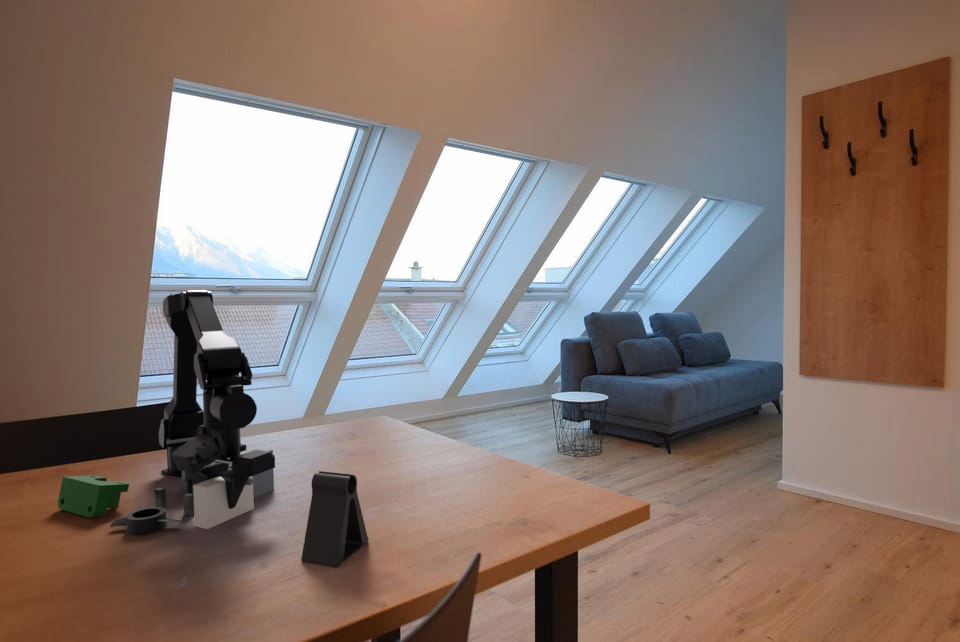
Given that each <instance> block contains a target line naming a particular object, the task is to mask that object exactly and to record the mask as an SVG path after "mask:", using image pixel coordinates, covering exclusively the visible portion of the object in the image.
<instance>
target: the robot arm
mask: <svg viewBox="0 0 960 642" xmlns="http://www.w3.org/2000/svg"><path fill="white" fill-rule="evenodd" d="M162 313H163V317H164V318H165V321H166V323H167V325H168V326H169V327H170V329H171V331H172V332H173V333H174V337H173V338H174V339H173V341H174V342H173V380H172V381H173V382H172V383H173V385H172V386H173V387H172V389H173V390H172V398H171V400H170V401H169V402H168V403H167V405H166V406H165V408H164V409H163V411H164V412H163V418H162V419H161V420H160V425H159V430H158V442H159V445H160V446H161V447H162V448H163V449H166V458H167V459H166V463H167V468H165V469H161V471H160V473H161V474H165V475H172V476H176V477H177V476H178V477H182V471H188V472H190V473H197V474H199V475H200V476H202V477H203V479H204V481H207V480H209V479H212V478H215V477H218V476H221V477H222V478H223V479H224V480H225V481H226V491H227V501H228V506H229V509H232V508H234V507H235V506H236V504H237V502H238V500H239V497H240V495H241V493H242V491H243V488H244V486H245V484H246V482H247V480H248V479H249V477H250V476H254V475H257V474H259V473H262V472H265V471H267V470H270V469H273V470H274V469H275V468H276V456H275V455H274V453H273V454H272V453H271V452H268V451H261V450H254V451H251V452H248V453H245V454H242V455H241V454H240V452H242V451H245V450H246V446H247V444H244V443H241V429H244V428H246V427H247V426H248V425H250V424H251V423H252V422H253V421H254V419H255V417H256V415H257V411H258V408H257V404H256V400H254V398H253V397H252V396H251V395H249V394H247V393H245V392H244V391H245V390H244V386H252V379H253V372H252V369H251V367H250V363H249V361H248V357H247V356H246V354H245V352H244V350H242V349H241V347H240V345H239V344H238V342H237V340H236V339H235V338H233V337H231V336H229V335H228V334H226V333H225V332H224V329H223V327H222V326H223V325H222V324H221V322H220V318H219V316H218V314H217V311H216V309H215V307H214V297H213V294H212V291H210V290H207V289H186V290H184V291H180V293H170V294H169V295H167V296H166V297H165V298H164V299H163V301H162ZM198 384H199V388H200V390H203V391H202V405H203V406H202V407H203V409H202V407H201V405H200V404H199V402H198V401H197V393H198V392H197V391H198V387H197V386H198ZM228 458H230V459H228ZM228 464H229V467H228ZM227 468H228V471H227Z"/></svg>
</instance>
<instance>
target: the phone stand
mask: <svg viewBox="0 0 960 642" xmlns="http://www.w3.org/2000/svg"><path fill="white" fill-rule="evenodd" d="M362 511H363V510H362V508H361V503H360V499H359V496H358V480H357V477H356V475H355V474H349V473H340V472H339V473H338V472H330V471H323V470H319V471H318V472H315V473H314V474H313V475H312V479H311V499H310V505H309V510H308V518H307V523H306V530H305V534H304V540H303V548H302V553H301V560H300V561H301V562H302V563H303V562H304V563H308V564H315V565H321V566H328V567H333V568H339V567H340V566H341V565H343V564H344V563H345V562H347V561H348V560H349V559H350V558H351V557H353V555H355V554H356V553H357V552H359V551H360V550H361V549H362V548H363V547H364V546H366V545H368V543H369V537H368V533H367V528H366V524H365V521H364V516H363V512H362Z"/></svg>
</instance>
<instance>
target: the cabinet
mask: <svg viewBox="0 0 960 642" xmlns="http://www.w3.org/2000/svg"><path fill="white" fill-rule="evenodd" d="M254 450H261V451H268V452H271V453H272V454H273V455H274V450H273V449H269V448H265V447H264V448H263V447H256V446H251V445H250V446H249V445H246V450H245V451H242V452H240V454H241V455H242V454H245V453H248V452H251V451H254ZM228 459H230V458H228ZM228 467H229V464H228ZM227 471H228V468H227ZM274 474H275V473H274V468H273V469H270V470H267V471H265V472H262V473H259V474H257V475H254V476H253V495H254V499H255V498H258V497H260V496H262V495H266V494H267V493H270V492H272V491H274V490H275V482H274V481H275V480H274V477H275V476H274ZM184 479H191V480H192V493H193V485H195V484H198V483H201V482H204V479H203V477H202V476H200V475H199V474H197V473H190V472H188V471H182V476H181V481H182V480H184ZM193 494H194V493H193Z"/></svg>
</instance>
